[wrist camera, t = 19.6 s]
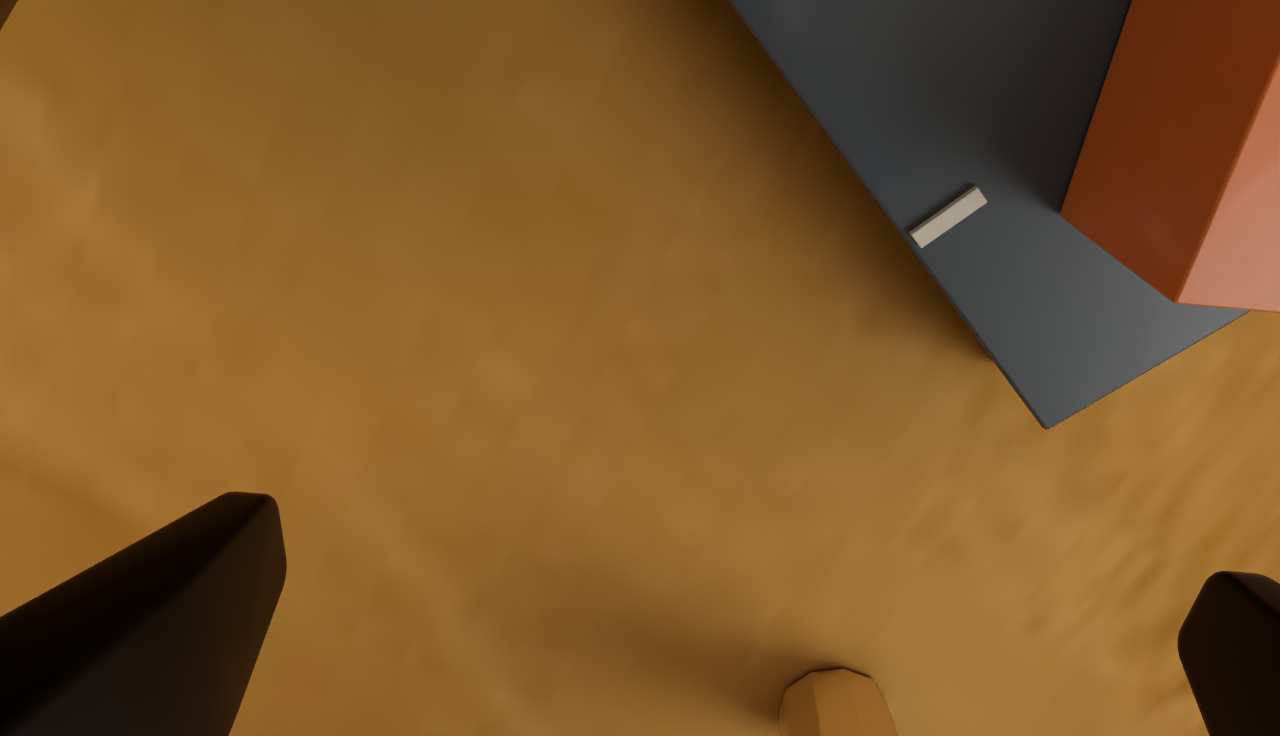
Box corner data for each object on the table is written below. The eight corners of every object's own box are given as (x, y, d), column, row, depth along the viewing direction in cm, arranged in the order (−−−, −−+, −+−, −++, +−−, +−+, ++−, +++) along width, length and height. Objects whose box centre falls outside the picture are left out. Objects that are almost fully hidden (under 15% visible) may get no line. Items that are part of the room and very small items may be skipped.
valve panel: (654, -100, 16) (652, -102, 13) (1161, -589, 13) (1300, -728, 10) (996, 365, 21) (1048, 436, 18) (1434, 91, 17) (1583, 125, 15)
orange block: (1153, 225, 16) (1306, 322, 12) (1057, 216, 16) (1181, 311, 12) (1287, -115, 13) (1538, -127, 9) (1172, -127, 13) (1380, -143, 9)
